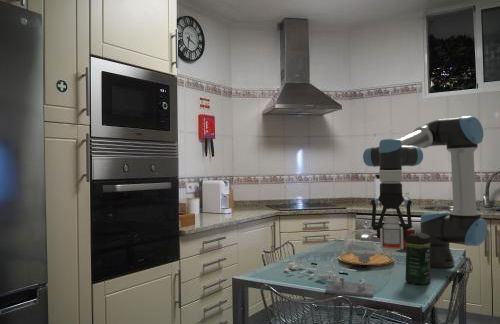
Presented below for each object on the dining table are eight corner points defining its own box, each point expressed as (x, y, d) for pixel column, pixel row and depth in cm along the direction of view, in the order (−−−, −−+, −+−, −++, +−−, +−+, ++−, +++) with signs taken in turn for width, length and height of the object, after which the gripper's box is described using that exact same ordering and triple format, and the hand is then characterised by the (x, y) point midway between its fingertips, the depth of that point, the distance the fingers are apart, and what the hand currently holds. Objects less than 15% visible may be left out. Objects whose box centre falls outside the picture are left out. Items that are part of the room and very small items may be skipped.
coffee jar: (424, 286, 146) (422, 235, 147) (402, 282, 152) (401, 233, 152) (434, 281, 153) (433, 232, 154) (413, 277, 159) (412, 230, 159)
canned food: (413, 250, 211) (413, 229, 211) (397, 248, 216) (397, 228, 216) (416, 247, 218) (416, 227, 218) (401, 246, 222) (400, 226, 222)
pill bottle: (388, 246, 147) (387, 215, 147) (404, 249, 142) (403, 216, 142) (379, 249, 142) (378, 217, 143) (396, 251, 138) (395, 218, 138)
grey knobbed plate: (375, 287, 147) (374, 277, 147) (373, 297, 135) (373, 286, 135) (330, 283, 152) (330, 274, 152) (325, 292, 141) (325, 282, 141)
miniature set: (360, 277, 155) (341, 288, 147) (295, 268, 181) (275, 277, 173) (357, 260, 155) (338, 271, 147) (292, 254, 181) (273, 262, 173)
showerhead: (355, 251, 174) (351, 247, 184) (355, 268, 174) (351, 263, 184) (377, 252, 174) (372, 247, 183) (377, 268, 173) (372, 263, 183)
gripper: (419, 182, 143) (420, 247, 143) (363, 182, 149) (364, 244, 149) (420, 183, 136) (421, 251, 136) (362, 182, 142) (363, 248, 142)
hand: (391, 247), depth 142 cm, fingers closed on pill bottle, 6 cm apart
